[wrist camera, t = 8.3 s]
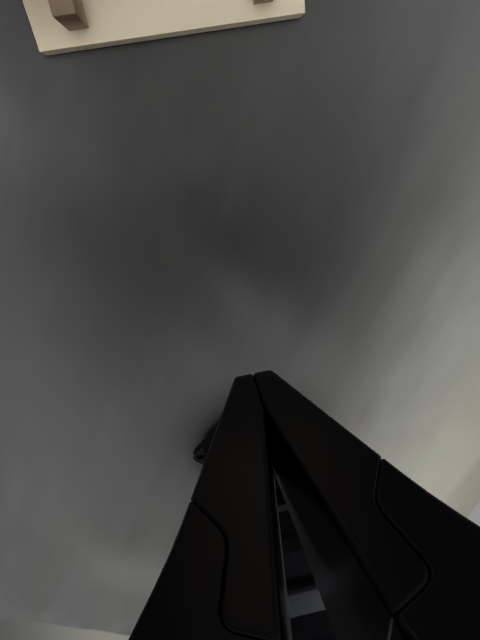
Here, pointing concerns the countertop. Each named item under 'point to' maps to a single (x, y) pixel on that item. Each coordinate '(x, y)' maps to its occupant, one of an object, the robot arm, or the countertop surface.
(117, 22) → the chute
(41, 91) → the countertop surface
